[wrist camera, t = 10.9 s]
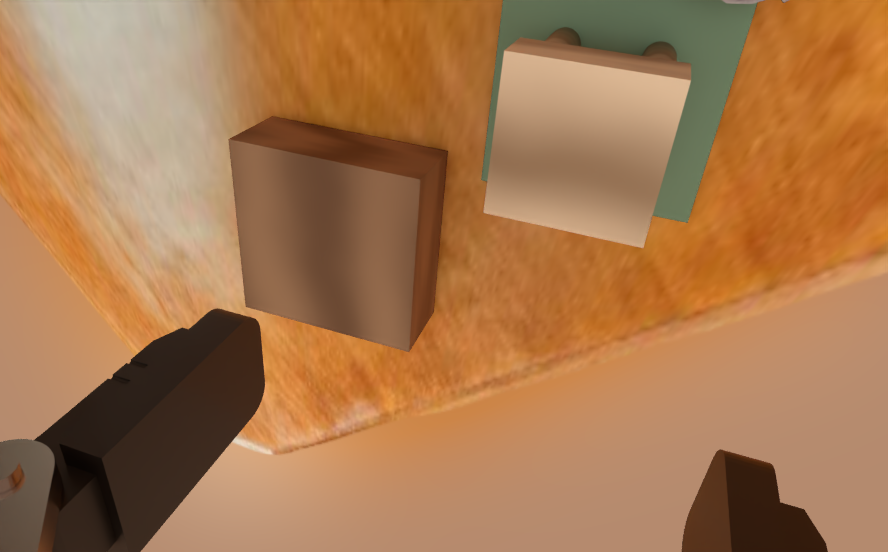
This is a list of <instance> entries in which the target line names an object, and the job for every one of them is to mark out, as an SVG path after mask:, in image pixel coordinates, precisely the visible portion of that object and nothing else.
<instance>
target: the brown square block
mask: <svg viewBox="0 0 888 552" xmlns="http://www.w3.org/2000/svg"><path fill="white" fill-rule="evenodd" d="M229 148H230V158H231V167H232V177H233V187H234V196H235V206H236V216H237V226H238V235H239V245H240V255H241V265H242V274H243V284H244V294H245V304H246V307H249V308H252V309H256V310H259V311H263V312H267V313H270V314H274V315H277V316H281V317H285V318H288V319H292V320H295V321H299V322H303V323H306V324H310V325H314V326H317V327H321V328H324V329H328V330H332V331H335V332H339V333H342V334H346V335H350V336H353V337H357V338H360V339H364V340H368V341H371V342H375V343H378V344H382V345H386V346H389V347H393V348H396V349H400V350H404V351H407V352H409V351H410V350H411V348H412V346H413V345H414V343H415V342H416V340H417V338H418V337H419V335H420V334H421V332H422V330H423V329H424V327H425V325H426V324H427V322H428V321H429V319H430V317H431V316H432V314H433V312H434V301H435V290H436V278H437V267H438V255H439V244H440V233H441V221H442V210H443V199H444V187H445V176H446V165H447V153H448V151H444V150H439V149H434V148H429V147H424V146H419V145H414V144H409V143H404V142H399V141H394V140H389V139H384V138H379V137H374V136H368V135H363V134H358V133H353V132H348V131H343V130H338V129H333V128H328V127H323V126H318V125H313V124H308V123H303V122H298V121H293V120H288V119H283V118H278V117H273V116H272V117H270V118H268V119H266V120H265V121H263V122H261V123H259V124H257V125H255V126H253V127H251V128H249V129H247V130H245V131H243V132H241V133H240V134H238V135H236V136H234V137H232V138H230V139H229Z"/></svg>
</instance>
